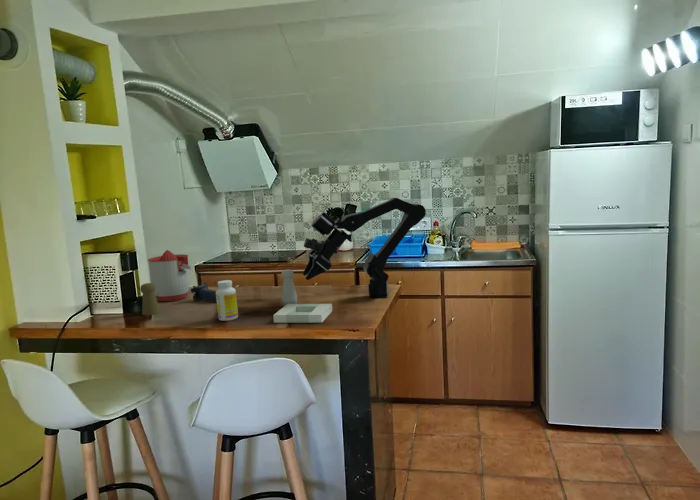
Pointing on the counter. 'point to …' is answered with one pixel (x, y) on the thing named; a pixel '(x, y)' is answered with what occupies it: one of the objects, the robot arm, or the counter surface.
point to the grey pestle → (288, 288)
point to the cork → (149, 299)
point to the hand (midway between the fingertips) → (304, 277)
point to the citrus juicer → (170, 276)
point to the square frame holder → (302, 313)
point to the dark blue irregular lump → (203, 293)
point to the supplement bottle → (226, 301)
